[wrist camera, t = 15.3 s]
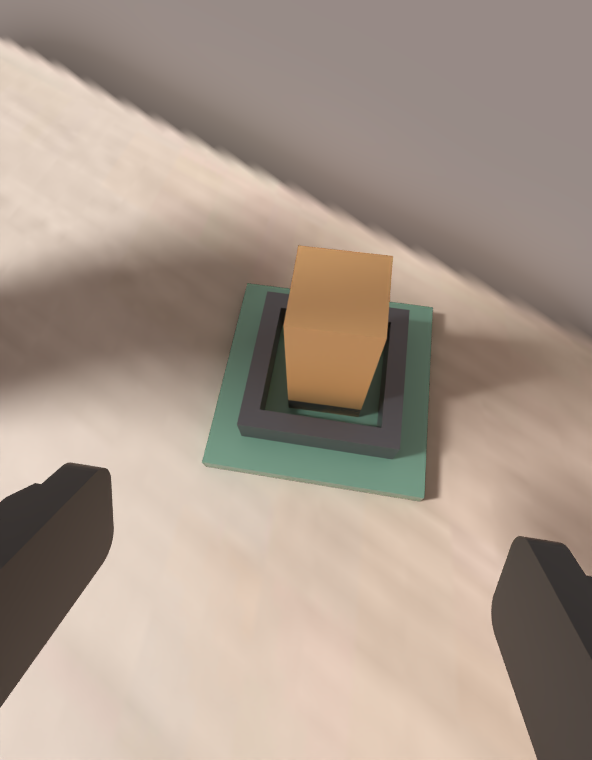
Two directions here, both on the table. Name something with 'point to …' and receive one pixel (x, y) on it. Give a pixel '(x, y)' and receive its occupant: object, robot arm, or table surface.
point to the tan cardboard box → (335, 328)
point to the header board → (318, 429)
